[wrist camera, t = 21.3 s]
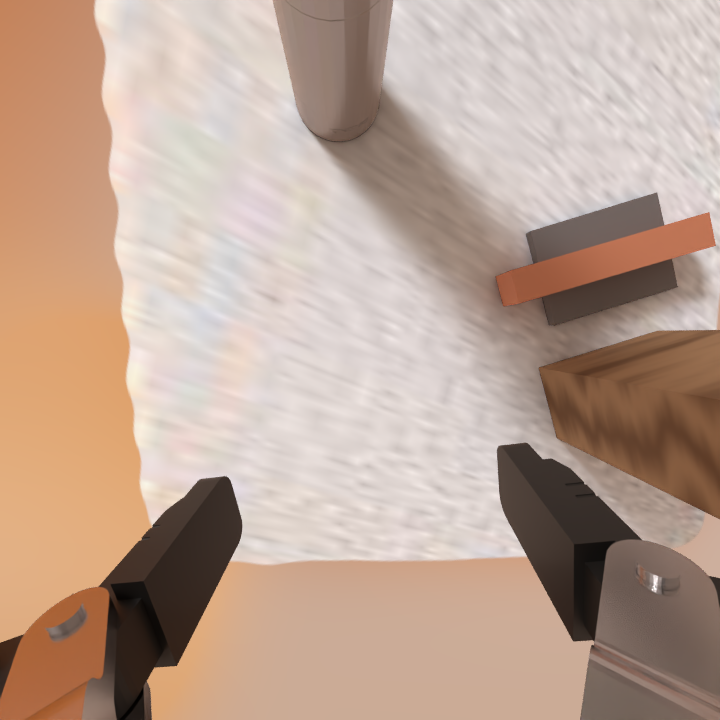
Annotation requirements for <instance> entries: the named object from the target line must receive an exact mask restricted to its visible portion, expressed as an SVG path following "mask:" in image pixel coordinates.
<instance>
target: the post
mask: <svg viewBox="0 0 720 720" xmlns="http://www.w3.org/2000/svg"><path fill="white" fill-rule="evenodd" d="M539 371H540V375H541V379H542V382H543V386H544V390H545V394H546V398H547V402H548V405H549V409H550V413H551V417H552V421H553V425H554V428H555V432H556V436H557V438H558V439H560V440H562V441H564V442H566V443H568V444H570V445H572V446H574V447H576V448H578V449H580V450H582V451H584V452H586V453H588V454H590V455H592V456H594V457H596V458H598V459H600V460H602V461H604V462H606V463H608V464H610V465H612V466H614V467H616V468H618V469H620V470H622V471H624V472H626V473H628V474H630V475H632V476H634V477H636V478H638V479H640V480H642V481H644V482H646V483H648V484H650V485H652V486H654V487H656V488H658V489H660V490H662V491H664V492H666V493H668V494H670V495H672V496H674V497H676V498H678V499H680V500H682V501H684V502H686V503H688V504H690V505H692V506H694V507H696V508H698V509H700V510H702V511H704V512H706V513H708V514H710V515H712V516H714V517H716V518H718V519H720V330H689V331H656V332H652V333H649V334H646V335H643V336H639V337H636V338H633V339H630V340H627V341H623V342H620V343H617V344H614V345H610V346H607V347H604V348H601V349H598V350H594V351H591V352H588V353H585V354H582V355H578V356H575V357H572V358H569V359H565V360H562V361H559V362H556V363H553V364H549V365H546V366H543V367H540V368H539Z"/></svg>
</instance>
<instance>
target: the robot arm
mask: <svg viewBox="0 0 720 720" xmlns="http://www.w3.org/2000/svg"><path fill="white" fill-rule="evenodd" d="M273 4H274V8H275V13H276V17H277V21H278V26H279V30H280V35H281V39H282V43H283V48H284V52H285V57H286V61H287V65H288V70H289V74H290V79H291V84H292V88H293V92H294V97H295V101H296V105H297V109H298V112H299V115H300V117H301V118H302V120H303V122H304V123H305V125H306V126H307V127H308V128H309V129H310V130H311V131H312V132H313V133H315V134H316V135H318V136H320V137H322V138H324V139H327V140H330V141H347V140H351V139H353V138H356V137H358V136H360V135H361V134H362V133H364V132H365V131H366V130H367V129H368V128H369V127H370V126H371V124H372V123H373V121H374V119H375V117H376V115H377V112H378V109H379V102H380V95H381V87H382V80H383V74H384V66H385V59H386V51H387V44H388V36H389V29H390V21H391V13H392V6H393V0H273ZM497 460H498V477H499V493H500V500H501V504H502V508H503V511H504V513H505V516H506V518H507V520H508V522H509V523H510V525H511V527H512V529H513V531H514V533H515V535H516V536H517V538H518V540H519V542H520V544H521V546H522V547H523V549H524V551H525V553H526V555H527V557H528V559H529V560H530V562H531V564H532V566H533V568H534V570H535V572H536V573H537V575H538V577H539V579H540V581H541V582H542V584H543V586H544V588H545V590H546V592H547V594H548V596H549V597H550V599H551V601H552V603H553V605H554V607H555V608H556V610H557V612H558V614H559V616H560V618H561V620H562V621H563V623H564V625H565V627H566V629H567V631H568V632H569V634H570V636H571V638H572V640H573V641H587V640H593V641H594V646H593V645H592V646H591V649H590V655H589V661H588V668H587V675H586V682H585V689H584V697H583V703H582V710H581V718H580V720H720V578H716V577H711V576H708V575H707V574H706V573H705V572H704V571H703V570H702V569H701V568H700V567H699V566H698V565H696V564H695V563H694V562H692V561H691V560H690V559H688V558H687V557H685V556H683V555H682V554H679V553H678V552H676V551H674V550H672V549H670V548H667V547H665V546H662V545H659V544H656V543H652V542H648V541H643V540H642V539H641V538H640V537H639V536H638V535H637V534H636V533H635V532H634V531H633V530H632V529H631V528H630V527H629V526H628V525H627V524H625V523H624V522H623V521H622V520H621V519H620V518H619V517H618V516H617V515H616V514H615V513H614V512H613V511H612V510H611V509H610V508H609V507H608V506H607V505H606V504H605V503H604V502H603V501H602V500H601V499H600V498H599V497H598V496H596V495H595V493H594V492H593V491H592V490H591V489H590V488H589V487H588V486H587V485H584V482H583V481H582V480H581V479H580V478H579V477H578V476H577V475H576V474H575V473H574V472H573V471H572V470H571V469H570V468H568V467H566V466H564V465H563V464H561V463H559V462H557V461H555V460H553V459H542V458H541V457H540V456H539V455H538V454H537V453H536V452H535V451H534V450H533V448H532V447H531V446H530V445H529V444H528V443H519V444H510V445H502V446H498V449H497ZM241 534H242V519H241V515H240V512H239V508H238V505H237V501H236V498H235V494H234V491H233V487H232V484H231V481H230V479H229V478H228V477H226V476H223V477H215V478H206V479H200V480H199V481H198V482H197V483H196V484H195V485H194V486H193V488H192V489H191V490H190V491H189V492H188V493H187V495H186V496H185V497H184V498H182V499H181V500H180V501H178V502H177V503H175V504H174V505H173V506H171V507H170V508H169V509H167V510H166V511H165V512H164V513H163V514H162V515H161V516H160V518H159V519H158V520H157V521H156V522H155V523H154V524H153V527H152V528H150V529H149V530H148V531H147V532H146V534H145V535H144V536H143V537H142V540H141V541H139V542H138V543H137V544H136V545H135V546H134V547H133V548H132V549H131V551H130V552H129V553H128V554H127V555H126V556H125V557H124V559H123V560H122V561H121V562H120V563H119V564H118V565H117V566H116V567H115V569H114V570H113V571H112V572H111V573H110V574H109V576H108V577H107V578H106V579H105V580H104V581H103V582H102V583H101V585H100V586H99V587H93V588H88V589H85V590H82V591H79V592H77V593H75V594H72V595H71V596H69V597H67V598H65V599H63V600H62V601H60V602H59V603H57V604H56V605H54V606H53V607H51V608H50V609H49V610H47V611H46V612H45V613H44V614H43V615H42V616H40V617H39V618H38V619H37V620H36V621H35V622H34V623H33V624H32V625H31V627H30V628H29V629H28V630H27V631H26V633H25V634H24V635H21V636H18V637H15V638H12V639H10V640H7V641H4V642H1V643H0V720H152V715H151V694H150V688H149V685H148V683H147V679H148V677H149V676H150V674H151V672H152V670H153V669H154V667H167V666H177V664H178V662H179V660H180V658H181V656H182V655H183V653H184V651H185V649H186V647H187V644H188V643H189V641H190V639H191V637H192V635H193V633H194V631H195V629H196V627H197V625H198V623H199V621H200V619H201V617H202V615H203V613H204V611H205V609H206V607H207V605H208V603H209V601H210V599H211V597H212V595H213V593H214V591H215V589H216V587H217V585H218V583H219V581H220V579H221V577H222V575H223V573H224V571H225V569H226V567H227V565H228V563H229V561H230V559H231V557H232V555H233V553H234V551H235V550H236V548H237V546H238V544H239V541H240V538H241Z"/></svg>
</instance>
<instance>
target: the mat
mask: <svg viewBox="0 0 720 720" xmlns="http://www.w3.org/2000/svg"><path fill="white" fill-rule="evenodd" d="M661 226H664V222H663V217H662V213H661V208H660V204H659V199H658V195H657V193H654V194H651V195H647V196H644V197H641V198H638V199H634V200H631V201H628V202H625V203H621V204H618V205H615V206H612V207H608V208H605V209H602V210H599V211H595V212H592V213H589V214H586V215H582V216H579V217H576V218H572V219H569V220H566V221H563V222H559V223H556V224H553V225H550V226H546V227H543V228H540V229H537V230H533V231H530V232H529V233H527V234H526V236H527V240H528V244H529V248H530V251H531V255H532V259H533V263H534V264H535V263H538V262H542V261H545V260H548V259H552V258H555V257H559V256H562V255H565V254H569V253H572V252H576V251H579V250H582V249H586V248H589V247H593V246H596V245H599V244H603V243H606V242H610V241H613V240H616V239H620V238H623V237H627V236H630V235H633V234H637V233H640V232H644V231H647V230H650V229H654V228H657V227H661ZM676 287H678V286H677V282H676V277H675V272H674V268H673V263H672V259H668V260H665V261H662V262H658V263H655V264H651V265H648V266H645V267H641V268H638V269H635V270H631V271H628V272H624V273H621V274H618V275H614V276H611V277H607V278H604V279H601V280H597V281H594V282H590V283H587V284H584V285H580V286H577V287H573V288H570V289H567V290H563V291H560V292H557V293H553V294H550V295H546V296H543V297H542V299H543V302H544V306H545V310H546V314H547V318H548V322H549V325H557V324H560V323H563V322H567V321H570V320H573V319H576V318H580V317H583V316H586V315H589V314H592V313H596V312H599V311H602V310H605V309H609V308H612V307H615V306H618V305H622V304H625V303H628V302H631V301H634V300H638V299H641V298H644V297H647V296H651V295H654V294H657V293H660V292H663V291H667V290H670V289H673V288H676Z"/></svg>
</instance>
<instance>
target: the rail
mask: <svg viewBox="0 0 720 720" xmlns="http://www.w3.org/2000/svg"><path fill="white" fill-rule="evenodd" d="M713 246H716V245H715V239H714V234H713V229H712V224H711V219H710V214H709V212H708V213H705V214H702V215H698V216H695V217H691V218H688V219H684V220H681V221H678V222H674V223H671V224H667V225H664V226H661V227H657V228H654V229H650V230H647V231H644V232H640V233H637V234H633V235H630V236H627V237H623V238H620V239H616V240H613V241H610V242H606V243H603V244H599V245H596V246H593V247H589V248H586V249H582V250H579V251H576V252H572V253H569V254H565V255H562V256H559V257H555V258H552V259H548V260H545V261H542V262H538V263H535V264H531V265H528V266H525V267H521V268H518V269H514V270H511V271H508V272H506V273H503V274H501V275H498V276H496V279H497V283H498V287H499V291H500V295H501V299H502V303H503V306H508V305H514V304H519V303H523V302H526V301H529V300H533V299H536V298H540V297H543V296H546V295H550V294H553V293H557V292H560V291H563V290H567V289H570V288H573V287H577V286H580V285H584V284H587V283H590V282H594V281H597V280H601V279H604V278H607V277H611V276H614V275H618V274H621V273H624V272H628V271H631V270H635V269H638V268H641V267H645V266H648V265H651V264H655V263H658V262H662V261H665V260H668V259H672V258H675V257H679V256H682V255H685V254H689V253H692V252H696V251H699V250H702V249H706V248H709V247H713Z"/></svg>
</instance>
